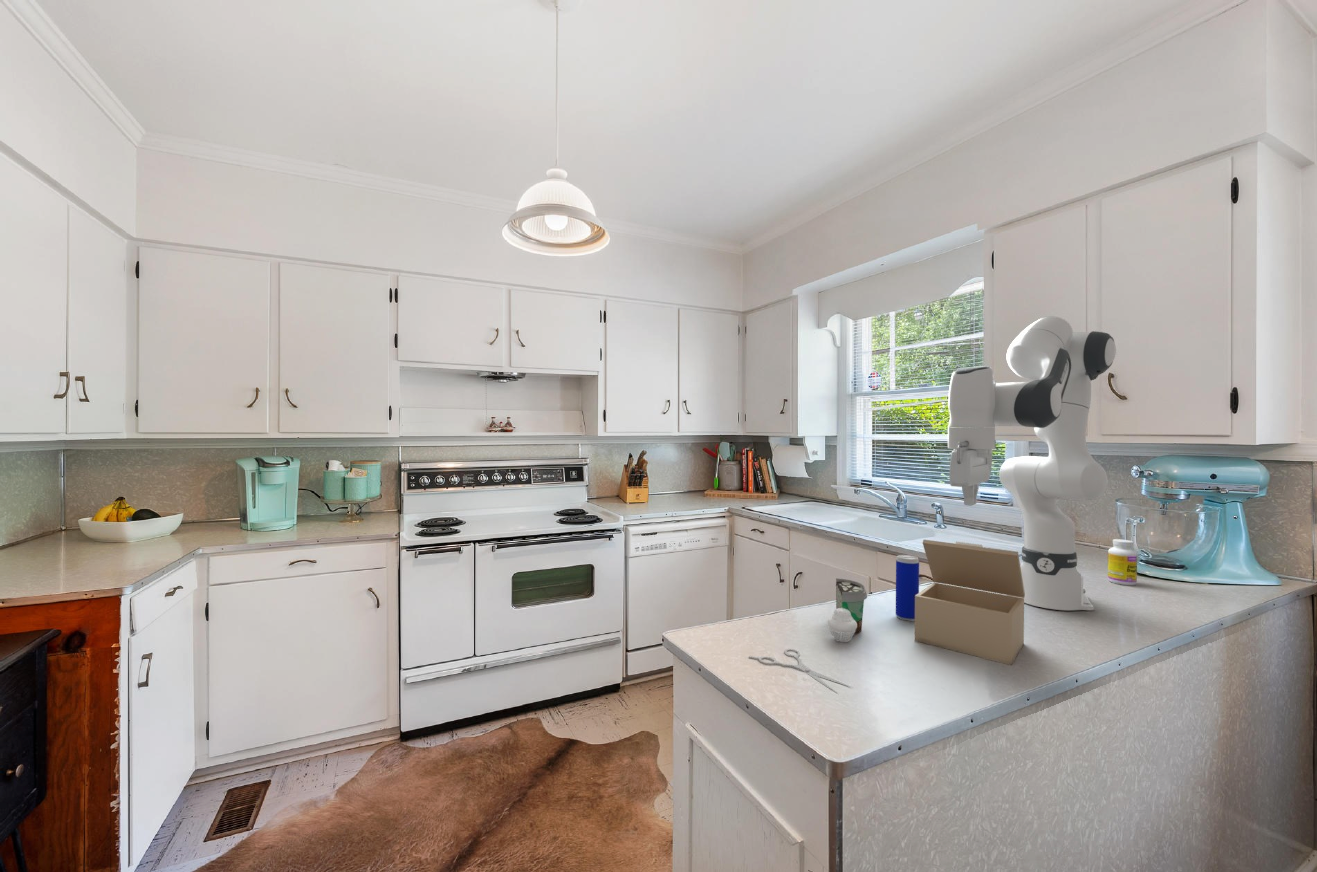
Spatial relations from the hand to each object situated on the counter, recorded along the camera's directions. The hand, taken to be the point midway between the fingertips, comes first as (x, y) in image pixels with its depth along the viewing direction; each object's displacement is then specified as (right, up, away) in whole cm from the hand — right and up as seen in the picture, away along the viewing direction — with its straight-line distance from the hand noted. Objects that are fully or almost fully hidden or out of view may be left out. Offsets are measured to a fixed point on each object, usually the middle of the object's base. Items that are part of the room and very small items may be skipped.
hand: (970, 504), depth 117 cm
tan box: (0, -30, 0) cm, 30 cm away
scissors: (-40, -31, -13) cm, 52 cm away
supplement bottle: (+73, -30, +46) cm, 91 cm away
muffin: (-27, -30, +2) cm, 41 cm away
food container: (-22, -30, +9) cm, 38 cm away
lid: (+2, -15, +2) cm, 15 cm away
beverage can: (-6, -30, +16) cm, 34 cm away
